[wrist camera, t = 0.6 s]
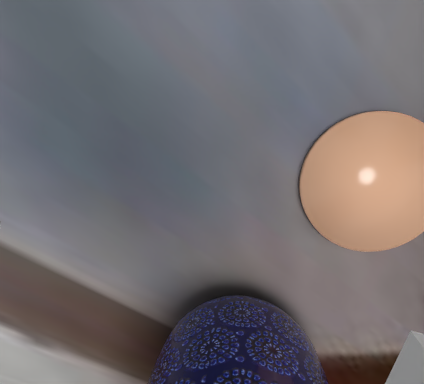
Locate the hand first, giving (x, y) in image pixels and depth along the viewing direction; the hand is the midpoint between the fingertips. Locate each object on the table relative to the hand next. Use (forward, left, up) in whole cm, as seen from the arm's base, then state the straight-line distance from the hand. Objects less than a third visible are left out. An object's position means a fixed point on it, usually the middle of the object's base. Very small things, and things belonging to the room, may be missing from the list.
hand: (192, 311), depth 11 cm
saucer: (-1, +15, -28) cm, 31 cm away
